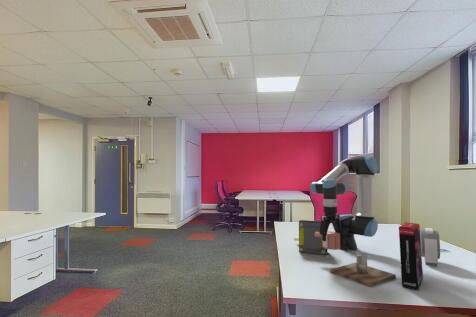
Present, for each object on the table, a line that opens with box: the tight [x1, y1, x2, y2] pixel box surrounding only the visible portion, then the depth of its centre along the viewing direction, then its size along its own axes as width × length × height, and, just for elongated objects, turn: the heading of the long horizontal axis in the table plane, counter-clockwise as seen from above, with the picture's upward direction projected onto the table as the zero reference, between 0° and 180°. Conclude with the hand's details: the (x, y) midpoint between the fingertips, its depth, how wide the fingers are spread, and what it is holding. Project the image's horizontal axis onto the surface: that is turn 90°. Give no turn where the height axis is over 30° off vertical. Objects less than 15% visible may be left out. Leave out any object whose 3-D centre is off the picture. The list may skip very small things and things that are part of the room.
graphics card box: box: [398, 221, 424, 291], centre depth 126 cm, size 17×7×27 cm, turn 139°
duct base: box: [329, 254, 397, 288], centre depth 136 cm, size 22×22×10 cm
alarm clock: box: [420, 227, 441, 268], centre depth 156 cm, size 18×8×20 cm, turn 148°
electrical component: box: [298, 219, 328, 256], centre depth 178 cm, size 18×10×20 cm, turn 68°
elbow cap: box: [315, 230, 341, 251], centre depth 156 cm, size 16×9×8 cm, turn 33°
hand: (331, 245), depth 153 cm, fingers closed on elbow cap, 9 cm apart
